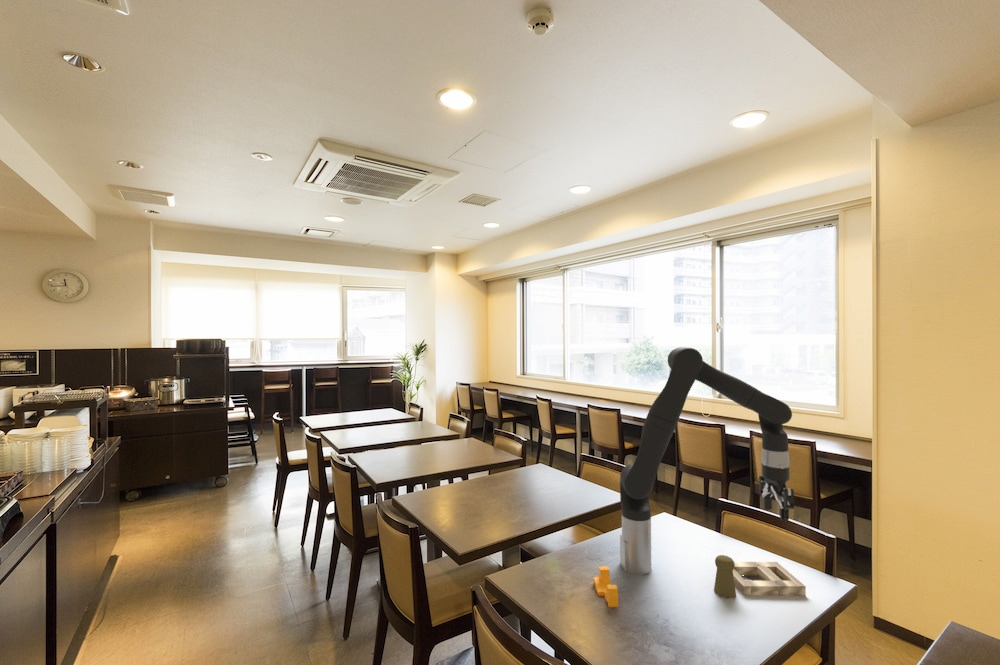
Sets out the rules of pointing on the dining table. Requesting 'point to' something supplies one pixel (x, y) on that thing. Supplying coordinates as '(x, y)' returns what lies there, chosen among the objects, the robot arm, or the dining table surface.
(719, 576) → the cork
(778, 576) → the socket block
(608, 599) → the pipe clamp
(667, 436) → the robot arm
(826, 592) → the dining table surface
